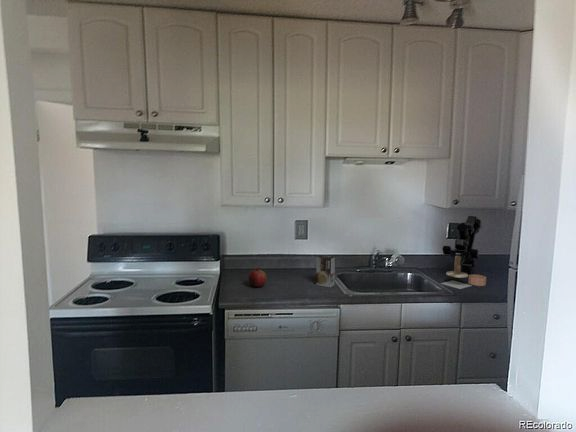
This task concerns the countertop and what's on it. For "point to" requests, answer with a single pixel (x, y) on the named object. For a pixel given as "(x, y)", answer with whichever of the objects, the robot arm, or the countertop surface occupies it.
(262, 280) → the fruit
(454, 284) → the mat
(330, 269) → the coffee box
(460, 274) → the lid
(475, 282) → the bowl
